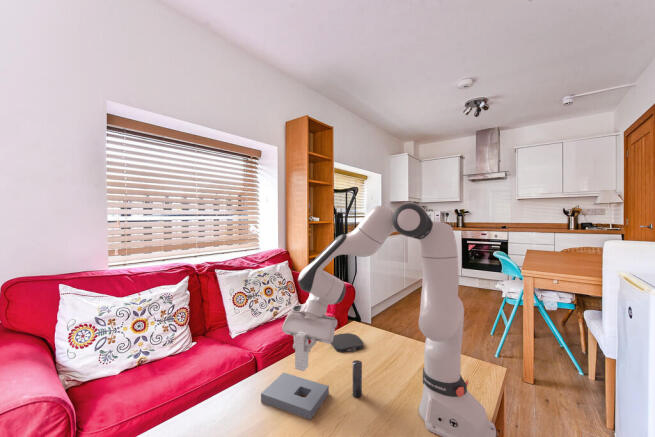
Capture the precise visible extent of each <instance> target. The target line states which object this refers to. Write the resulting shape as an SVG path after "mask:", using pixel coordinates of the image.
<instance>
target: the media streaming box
mask: <svg viewBox="0 0 655 437" xmlns="http://www.w3.org/2000/svg"><path fill="white" fill-rule="evenodd" d="M330 345H331V346H332V347H333V349H334V351H336V352H337V353H341V354H342V353H344V354H345V353H351V352H356V351H361V350H363V349H364V342H363V340H362V339H361V338H360V337H359V336H358V335H357V334H355V333H349V332H347V333H346V332H345V333H338V334H334V338H333V341H332V342H331V343H330Z"/></svg>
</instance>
